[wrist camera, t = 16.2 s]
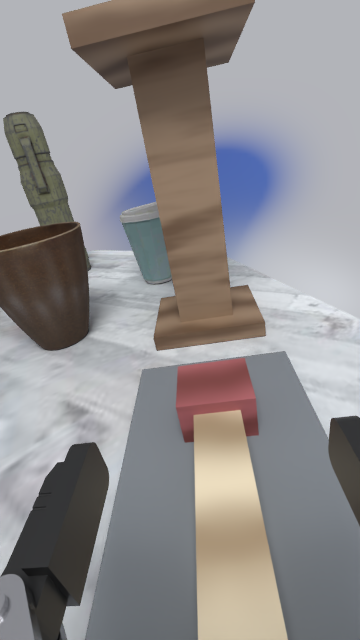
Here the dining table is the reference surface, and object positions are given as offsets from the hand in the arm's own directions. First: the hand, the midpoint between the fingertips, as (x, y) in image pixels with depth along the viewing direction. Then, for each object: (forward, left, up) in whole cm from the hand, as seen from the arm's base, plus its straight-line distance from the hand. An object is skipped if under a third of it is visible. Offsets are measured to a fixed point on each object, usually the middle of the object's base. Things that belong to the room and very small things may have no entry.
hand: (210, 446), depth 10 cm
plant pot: (-36, +17, -13) cm, 41 cm away
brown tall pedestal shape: (-16, +27, -12) cm, 34 cm away
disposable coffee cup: (-34, +41, -13) cm, 55 cm away
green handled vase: (-63, +42, -13) cm, 76 cm away
